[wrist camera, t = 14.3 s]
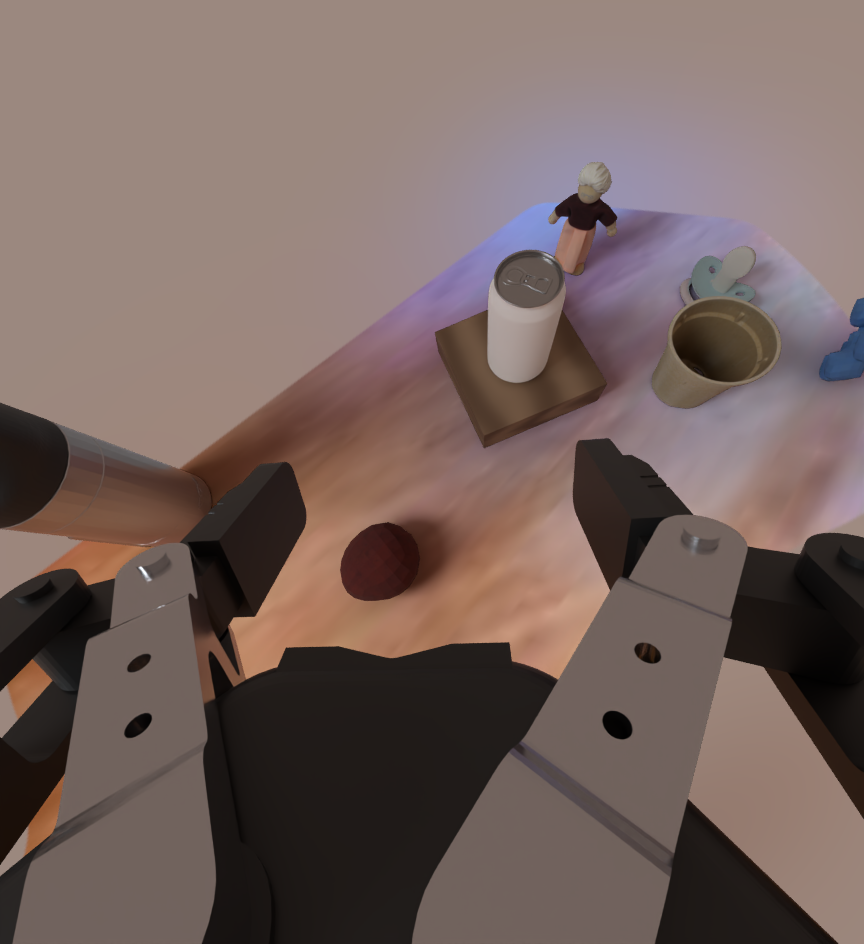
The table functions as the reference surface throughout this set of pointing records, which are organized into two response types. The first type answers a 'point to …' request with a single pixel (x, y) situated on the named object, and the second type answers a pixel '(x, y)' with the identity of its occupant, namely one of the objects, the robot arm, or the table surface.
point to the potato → (379, 562)
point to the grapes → (847, 351)
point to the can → (524, 314)
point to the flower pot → (714, 350)
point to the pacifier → (721, 276)
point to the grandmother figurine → (583, 217)
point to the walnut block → (517, 404)
